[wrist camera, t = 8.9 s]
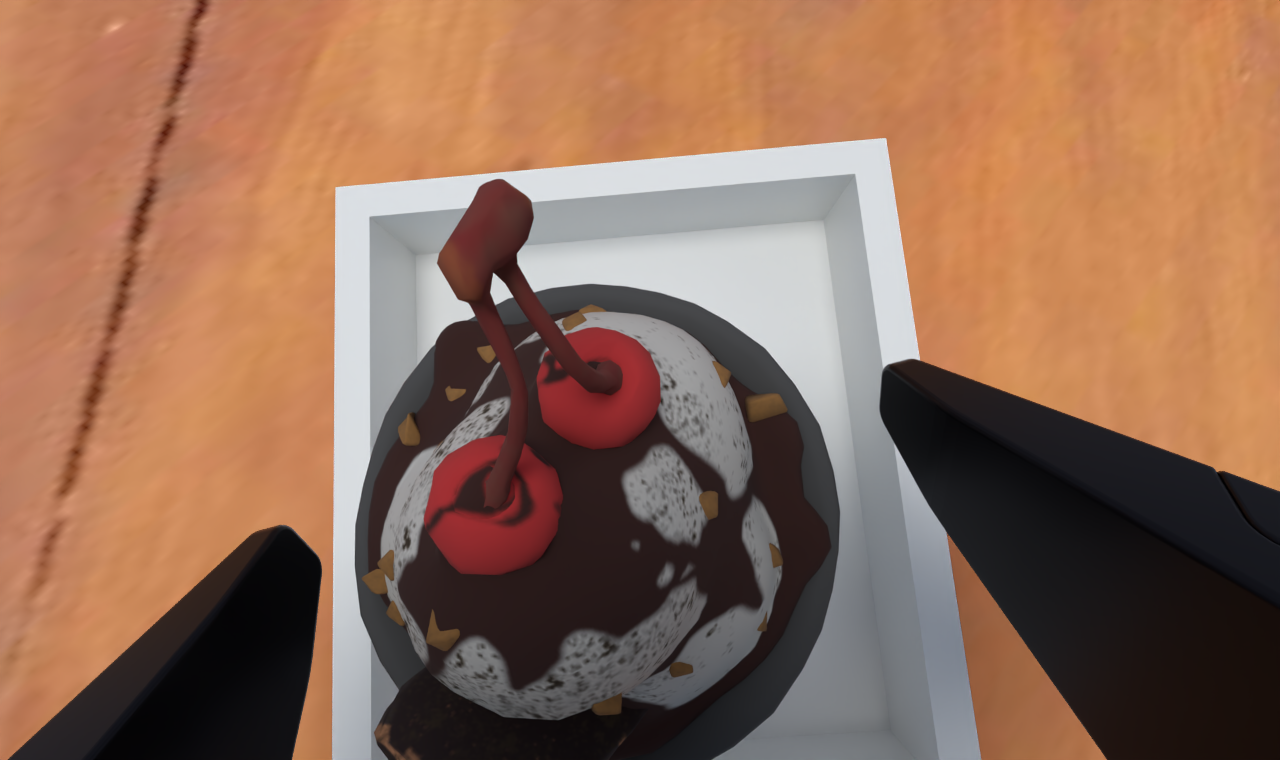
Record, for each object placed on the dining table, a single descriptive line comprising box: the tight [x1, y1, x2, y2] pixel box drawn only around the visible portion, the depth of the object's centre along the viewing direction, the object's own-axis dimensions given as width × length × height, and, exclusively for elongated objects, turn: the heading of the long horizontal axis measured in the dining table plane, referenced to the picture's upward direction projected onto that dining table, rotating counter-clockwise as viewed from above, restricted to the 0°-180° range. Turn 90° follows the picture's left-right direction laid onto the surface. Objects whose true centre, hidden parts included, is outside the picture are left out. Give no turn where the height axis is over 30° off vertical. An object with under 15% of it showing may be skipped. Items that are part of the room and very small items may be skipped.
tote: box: [332, 138, 981, 760], centre depth 16 cm, size 18×16×4 cm
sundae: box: [355, 179, 840, 760], centre depth 10 cm, size 7×7×15 cm
